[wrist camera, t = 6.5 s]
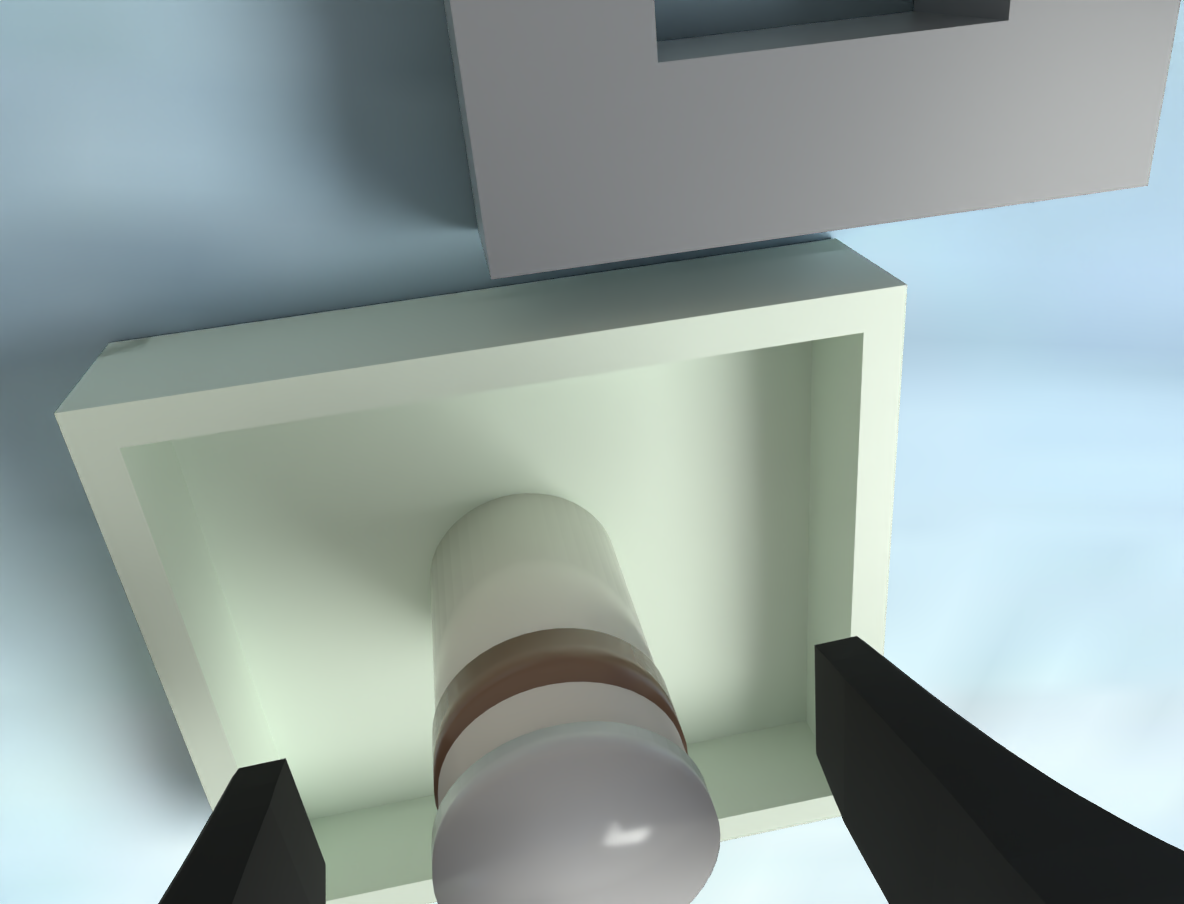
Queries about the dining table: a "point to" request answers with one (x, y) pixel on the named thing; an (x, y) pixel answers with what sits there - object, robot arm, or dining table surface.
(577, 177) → the fuse holder
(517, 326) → the parts tray
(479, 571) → the cylinder
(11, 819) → the dining table surface
